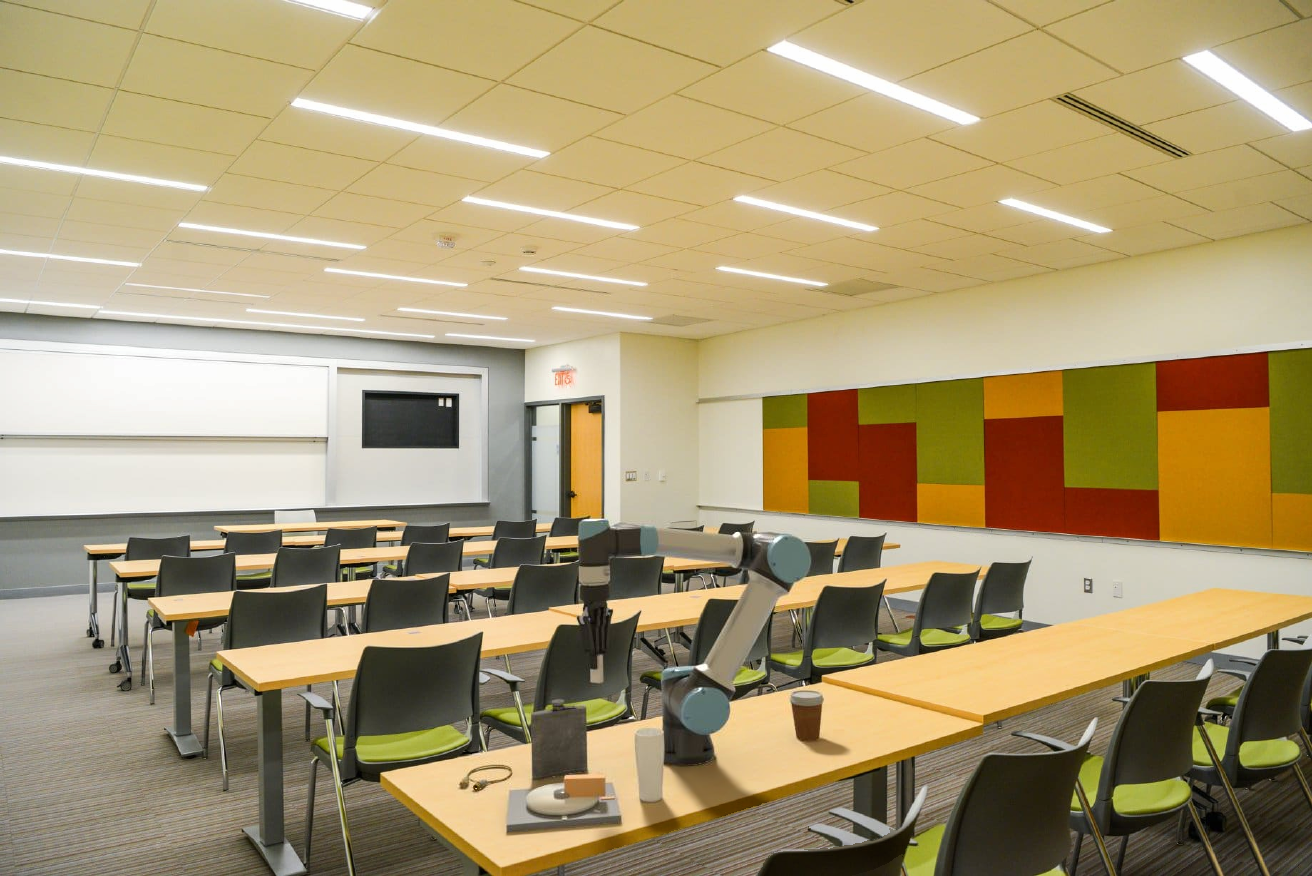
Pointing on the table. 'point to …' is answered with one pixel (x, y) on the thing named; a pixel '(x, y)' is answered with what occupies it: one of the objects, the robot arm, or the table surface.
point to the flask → (558, 740)
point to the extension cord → (483, 782)
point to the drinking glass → (650, 763)
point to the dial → (568, 795)
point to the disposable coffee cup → (807, 713)
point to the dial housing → (530, 820)
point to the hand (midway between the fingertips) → (596, 682)
